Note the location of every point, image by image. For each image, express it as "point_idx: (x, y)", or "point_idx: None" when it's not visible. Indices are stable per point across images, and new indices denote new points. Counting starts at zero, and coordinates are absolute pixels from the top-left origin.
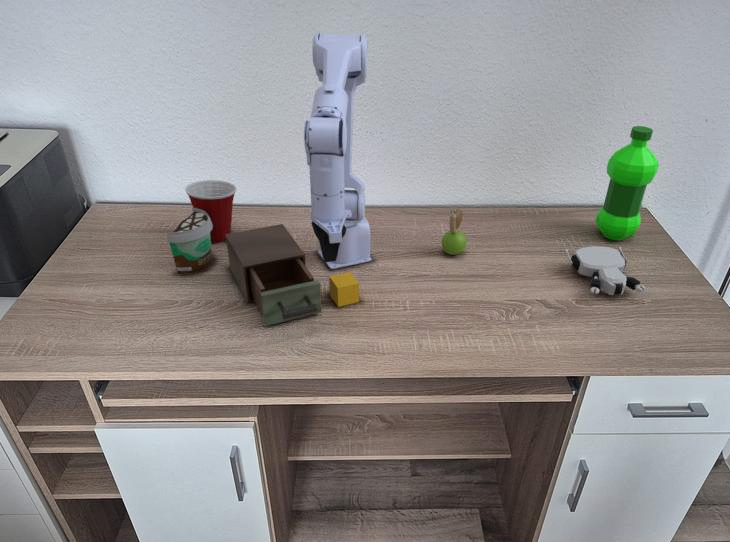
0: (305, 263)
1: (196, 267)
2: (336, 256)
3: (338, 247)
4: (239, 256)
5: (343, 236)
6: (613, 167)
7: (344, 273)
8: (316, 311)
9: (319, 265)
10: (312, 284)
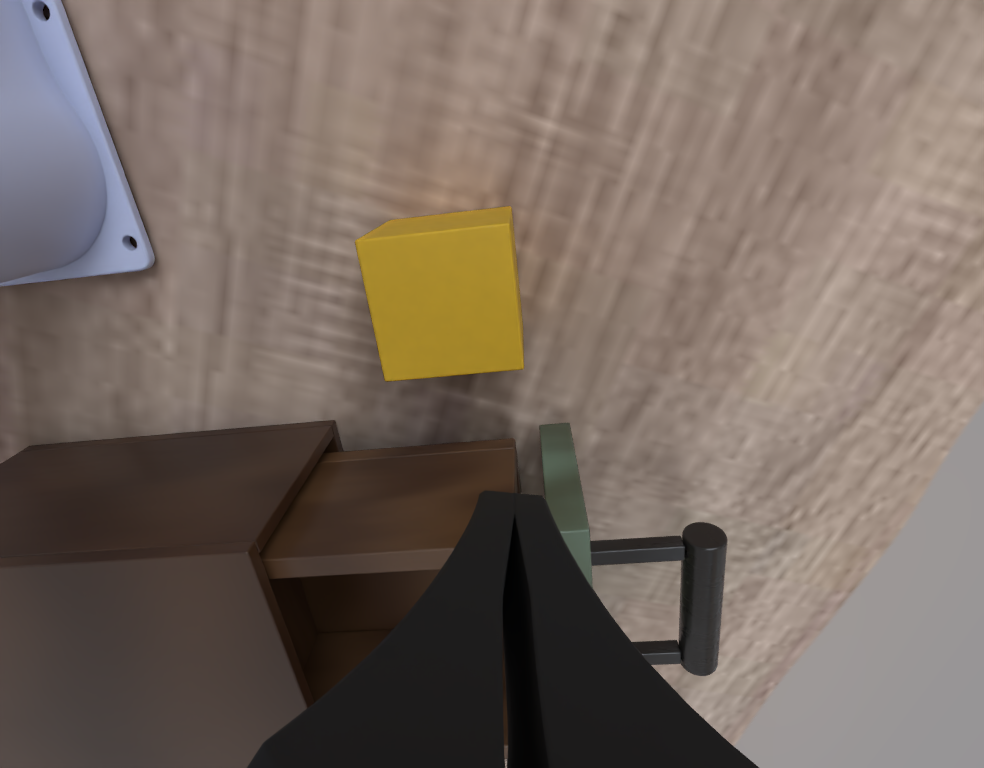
0: (277, 510)
1: None
2: (554, 522)
3: (596, 596)
4: None
5: (726, 740)
6: None
7: (369, 284)
8: (720, 530)
9: (105, 310)
10: (589, 569)
